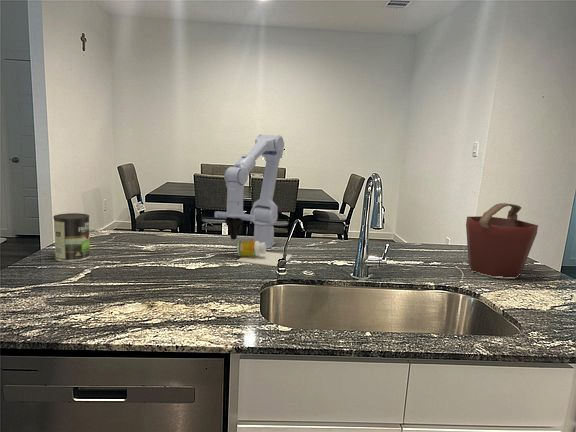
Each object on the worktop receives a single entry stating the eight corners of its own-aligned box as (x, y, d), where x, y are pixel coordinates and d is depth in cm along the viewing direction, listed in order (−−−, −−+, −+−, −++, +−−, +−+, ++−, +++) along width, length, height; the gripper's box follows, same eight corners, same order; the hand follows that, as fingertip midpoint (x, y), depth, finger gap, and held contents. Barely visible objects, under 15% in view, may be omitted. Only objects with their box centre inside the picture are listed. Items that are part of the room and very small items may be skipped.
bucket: (494, 262, 163) (503, 199, 158) (548, 280, 143) (560, 208, 138) (446, 266, 153) (454, 199, 149) (496, 285, 133) (507, 209, 129)
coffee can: (95, 254, 141) (95, 214, 139) (80, 263, 131) (79, 219, 129) (66, 252, 141) (64, 212, 139) (48, 261, 131) (46, 217, 129)
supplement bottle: (236, 254, 145) (263, 253, 144) (237, 239, 147) (263, 238, 146) (240, 258, 150) (266, 257, 149) (241, 243, 152) (267, 242, 151)
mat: (251, 251, 158) (252, 250, 158) (292, 256, 154) (292, 255, 154) (236, 261, 143) (236, 260, 143) (281, 267, 139) (281, 266, 139)
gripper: (211, 200, 144) (210, 238, 146) (250, 204, 140) (249, 243, 143) (219, 198, 151) (218, 235, 153) (257, 202, 147) (255, 239, 149)
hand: (233, 238), depth 148 cm, fingers closed
